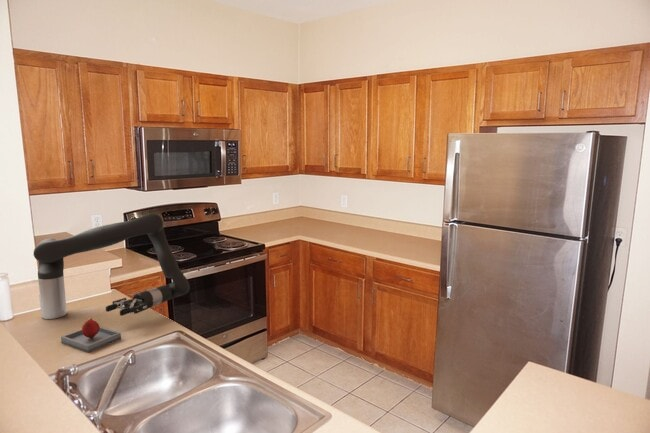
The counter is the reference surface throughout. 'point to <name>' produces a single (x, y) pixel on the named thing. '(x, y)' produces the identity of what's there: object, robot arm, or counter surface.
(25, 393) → the counter surface
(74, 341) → the tray
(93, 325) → the onion
